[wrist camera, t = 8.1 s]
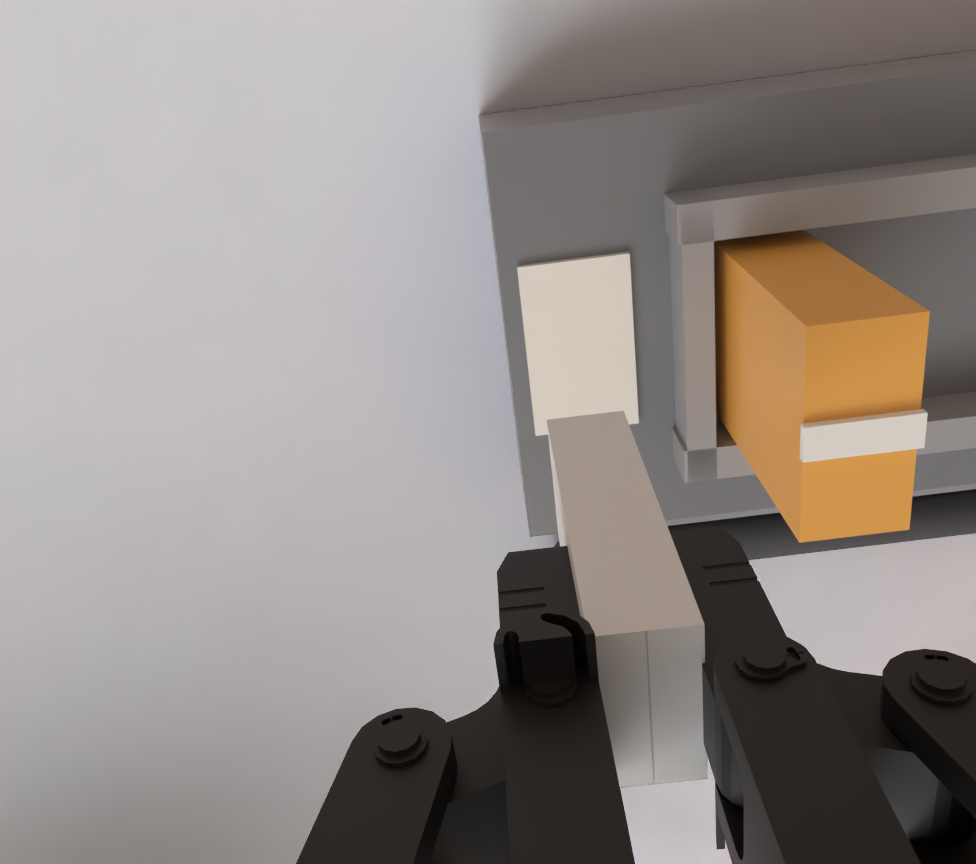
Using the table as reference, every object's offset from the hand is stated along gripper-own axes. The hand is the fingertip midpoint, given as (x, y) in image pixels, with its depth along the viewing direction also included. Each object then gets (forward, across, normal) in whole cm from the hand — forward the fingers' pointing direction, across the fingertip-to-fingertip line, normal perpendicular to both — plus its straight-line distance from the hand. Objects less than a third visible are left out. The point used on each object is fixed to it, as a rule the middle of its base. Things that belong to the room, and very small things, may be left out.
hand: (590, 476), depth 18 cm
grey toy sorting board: (+12, +12, 0) cm, 17 cm away
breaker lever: (+8, +6, 0) cm, 10 cm away
